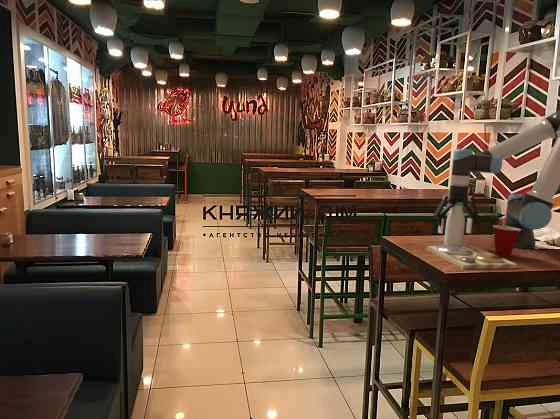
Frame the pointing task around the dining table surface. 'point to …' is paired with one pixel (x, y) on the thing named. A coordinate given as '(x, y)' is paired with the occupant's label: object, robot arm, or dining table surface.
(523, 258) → the dining table surface
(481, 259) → the flange dn80
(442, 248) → the flange large
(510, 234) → the plastic cup
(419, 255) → the dining table surface
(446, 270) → the dining table surface
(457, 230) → the milk bottle
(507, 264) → the fitting board
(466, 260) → the flange small
